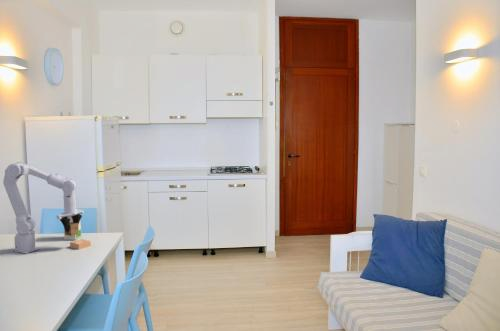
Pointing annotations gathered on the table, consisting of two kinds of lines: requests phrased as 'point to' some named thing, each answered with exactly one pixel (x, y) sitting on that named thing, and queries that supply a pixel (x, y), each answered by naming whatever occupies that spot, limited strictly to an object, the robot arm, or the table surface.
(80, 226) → the skincare box
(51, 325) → the table surface
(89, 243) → the terracotta block
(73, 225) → the walnut block
